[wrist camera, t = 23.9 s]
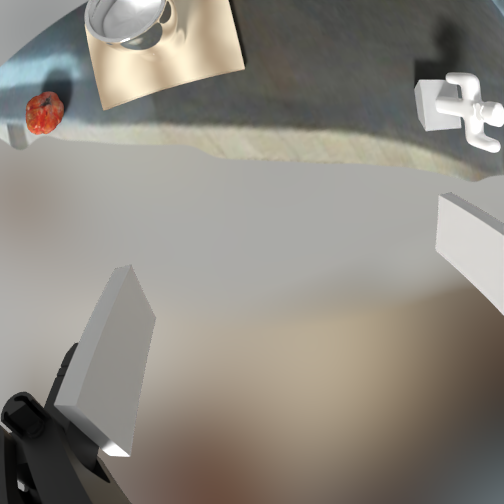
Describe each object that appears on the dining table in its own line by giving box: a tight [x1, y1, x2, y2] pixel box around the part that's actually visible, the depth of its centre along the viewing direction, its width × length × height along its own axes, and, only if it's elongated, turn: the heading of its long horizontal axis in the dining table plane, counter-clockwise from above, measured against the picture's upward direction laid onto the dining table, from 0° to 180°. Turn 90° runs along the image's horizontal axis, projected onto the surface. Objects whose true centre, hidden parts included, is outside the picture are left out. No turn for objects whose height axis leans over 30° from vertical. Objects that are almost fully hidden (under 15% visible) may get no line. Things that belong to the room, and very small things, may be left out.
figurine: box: [414, 72, 504, 152], centre depth 29 cm, size 7×10×15 cm
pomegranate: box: [26, 92, 64, 135], centre depth 29 cm, size 6×6×8 cm
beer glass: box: [85, 0, 185, 62], centre depth 22 cm, size 7×7×15 cm
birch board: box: [85, 0, 245, 110], centre depth 29 cm, size 18×13×1 cm
